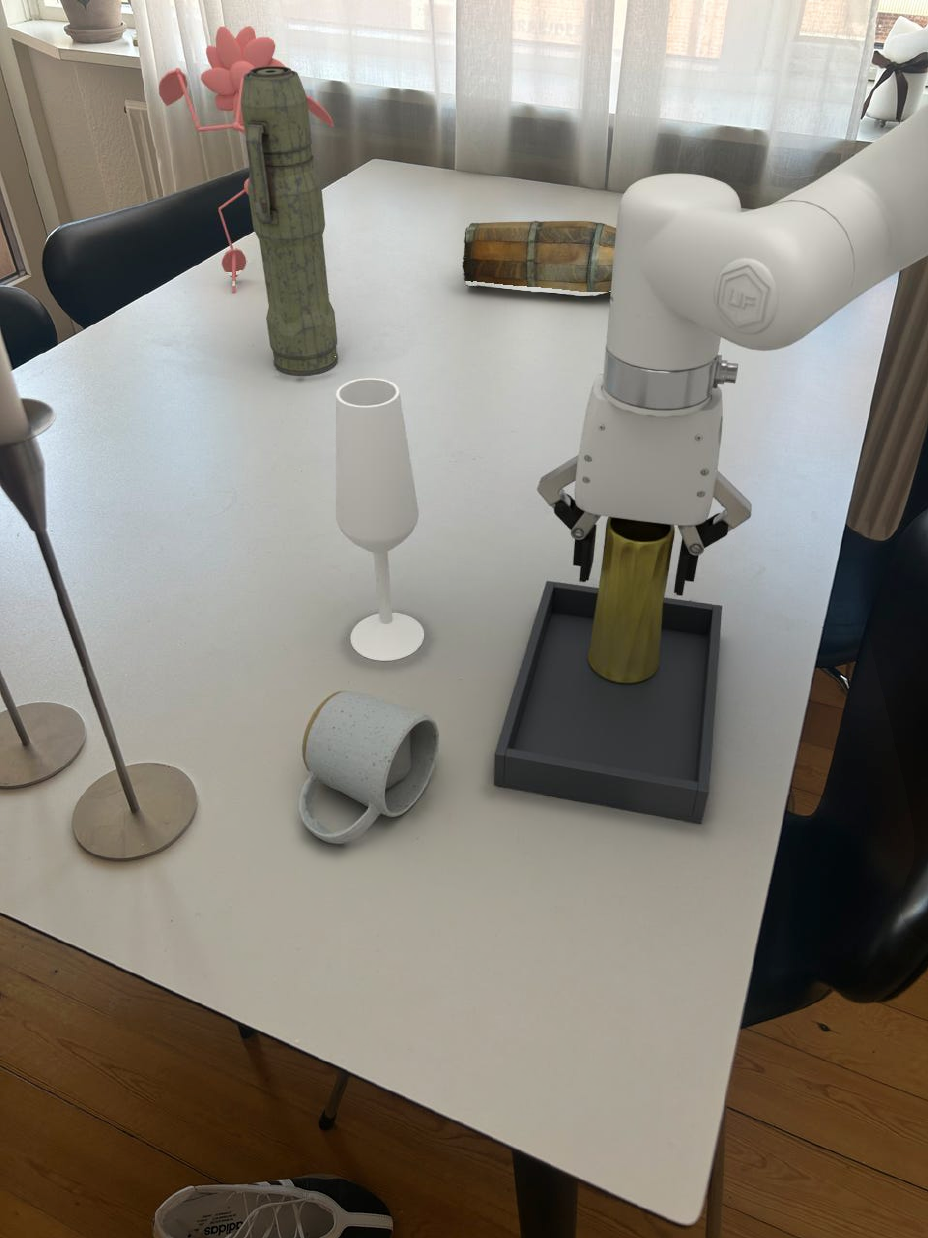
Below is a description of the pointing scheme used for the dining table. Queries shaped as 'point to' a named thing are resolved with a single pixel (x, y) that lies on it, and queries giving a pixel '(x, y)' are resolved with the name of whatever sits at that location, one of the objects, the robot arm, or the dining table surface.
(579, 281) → the decorative bottle
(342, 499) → the champagne flute
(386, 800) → the ceramic mug
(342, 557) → the dining table surface
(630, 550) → the vase
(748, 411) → the dining table surface
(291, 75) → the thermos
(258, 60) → the figurine
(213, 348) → the dining table surface
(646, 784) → the tray
